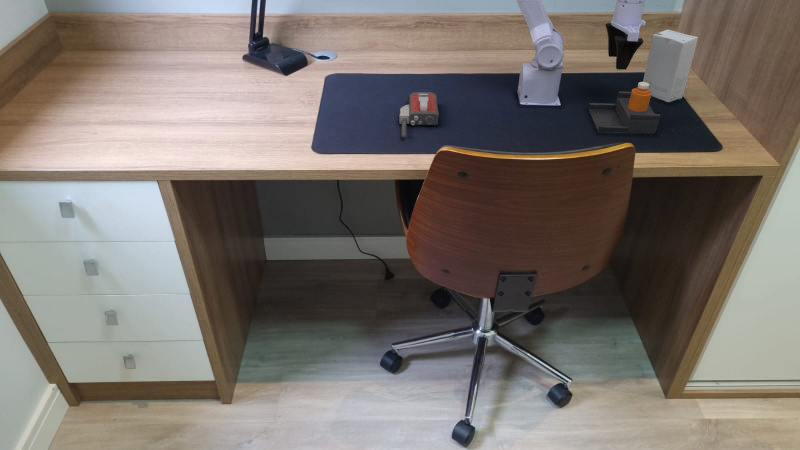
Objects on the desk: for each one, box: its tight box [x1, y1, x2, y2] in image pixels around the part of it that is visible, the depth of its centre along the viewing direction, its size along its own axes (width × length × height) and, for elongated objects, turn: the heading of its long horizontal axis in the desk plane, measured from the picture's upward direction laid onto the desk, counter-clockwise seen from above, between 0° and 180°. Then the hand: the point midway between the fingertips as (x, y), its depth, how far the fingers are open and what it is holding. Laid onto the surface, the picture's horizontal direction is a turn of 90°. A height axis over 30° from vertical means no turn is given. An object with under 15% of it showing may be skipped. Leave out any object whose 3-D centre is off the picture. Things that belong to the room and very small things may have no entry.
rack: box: [587, 91, 661, 135], centre depth 125 cm, size 12×12×5 cm
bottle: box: [628, 81, 652, 112], centre depth 122 cm, size 4×4×6 cm
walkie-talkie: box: [398, 91, 440, 139], centre depth 126 cm, size 9×4×20 cm
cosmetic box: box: [642, 29, 699, 103], centre depth 133 cm, size 8×6×15 cm
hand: (617, 62), depth 127 cm, fingers open, 7 cm apart
